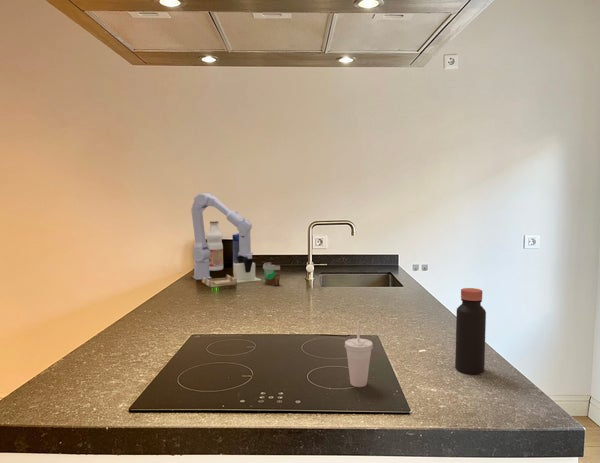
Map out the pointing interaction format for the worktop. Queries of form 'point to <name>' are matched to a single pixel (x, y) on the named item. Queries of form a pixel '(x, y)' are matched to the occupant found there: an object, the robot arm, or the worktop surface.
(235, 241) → the beverage box
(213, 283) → the offcut upper
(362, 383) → the smoothie
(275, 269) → the food container
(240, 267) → the beige rectangular block
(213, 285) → the rack
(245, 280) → the board
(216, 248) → the fruit juice
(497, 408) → the worktop surface
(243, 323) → the worktop surface
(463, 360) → the bottle
